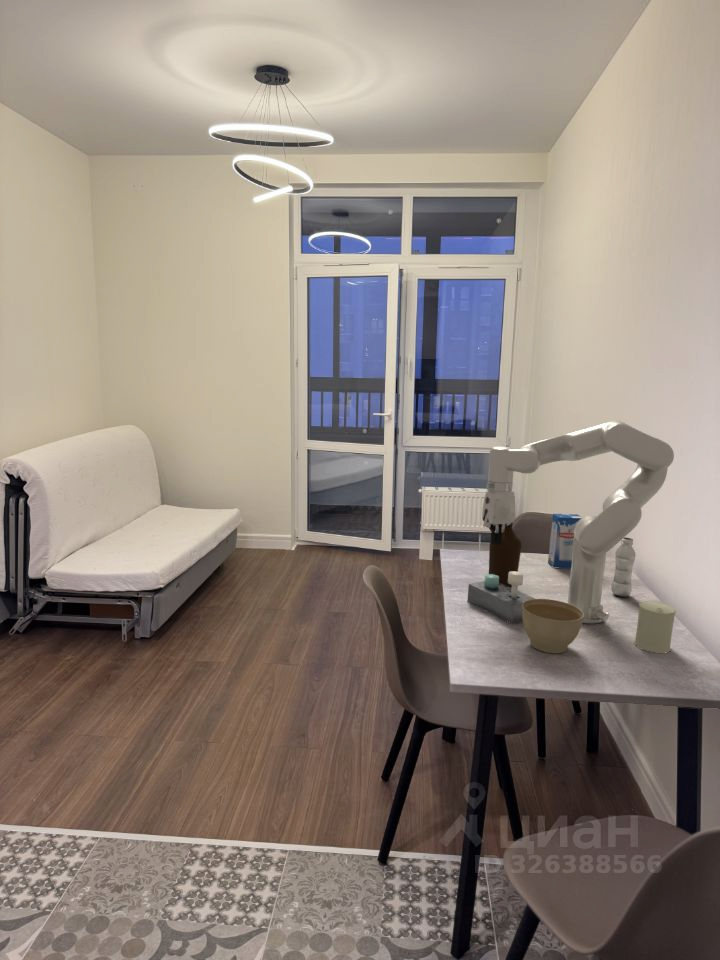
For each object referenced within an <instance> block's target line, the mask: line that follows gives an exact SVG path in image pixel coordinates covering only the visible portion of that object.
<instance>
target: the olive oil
mask: <svg viewBox="0 0 720 960" xmlns="http://www.w3.org/2000/svg"><path fill="white" fill-rule="evenodd" d="M513 523H514V521H513V522H511V524H510V525H507V526H506V527H505V529H504V532H502V544H501V545H494V544H492V543H491V540H490V541H489V547H488V548H489V549H488V550H489V551H488V552H489V553H488V557H489V559H488V574H493V575H497V576H499V583H501V584H503V585H505V586H507V587H510V588H512V585H511V584H509V583H508V574H509V572H511V571H516V572H519V567H520V561H521V560H520V559H521V555H522V554H521V553H522V541H521V539H520V537H519V535H518V534H517V533H516V532H515V530H513Z"/></svg>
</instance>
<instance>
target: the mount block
mask: <svg viewBox="0 0 720 960" xmlns="http://www.w3.org/2000/svg"><path fill="white" fill-rule="evenodd" d="M484 582H485V580H483V581H478V582H472V583H468V588H467V600H466V601H467V603H469V604H472V605H473V606H474V607H475V606H476V607H477V608H479V609H481V610H483V611H484V612H487V613H488V614H491V615H492V616H495V617H497V618H499V619H501V620H503V621H505V622H507V621H508V622H507V623H509V622H510V623H509V624H511V623H512V624H511V625H514V624H513V623H515V624H517V623H518V622H519V623H523V622H522V621H523V618H522V612H523V611H522V604H523V603H524V602H525V601H527V600H531V599H536V598H534V597H532V596H530V595H528V594H525V593H523V592H521V591H517V599H512V598H511V590H512V588H510V587H507V586H505V585H503V584H501V583H499V584H498V587H497V588H492V589H490V588H488V587H486V586H485V585H484Z"/></svg>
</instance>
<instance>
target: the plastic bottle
mask: <svg viewBox="0 0 720 960" xmlns="http://www.w3.org/2000/svg"><path fill="white" fill-rule="evenodd" d="M633 542H634V539H633V538H632V537H628V536H627V537H626V536H625V537H624V538H623V539H622V540H621V541H620V545H619V546H618V548H616V551H615V554H614V555H615V558H614V559H615V569H614V576H613V580H612V582H611V587H610V589H611V592H612V594H613V595H614V596H619V597H621V598H622V597H629V596H630V595H631V593H632V589H633V587H632V586H633V585H632V573H633V568H634V563H635V559H636V557H637V556H636V555H637V554H636V551H635V549H634V548H633V545H634V543H633Z"/></svg>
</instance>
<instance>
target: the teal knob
mask: <svg viewBox="0 0 720 960" xmlns="http://www.w3.org/2000/svg"><path fill="white" fill-rule="evenodd" d="M484 581H485V582H484V585H485V586H486V587H488V588H490V589H492V588H497V587H498V584H499V576H497V575H493V574H489V573H488V574H485V575H484Z"/></svg>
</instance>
